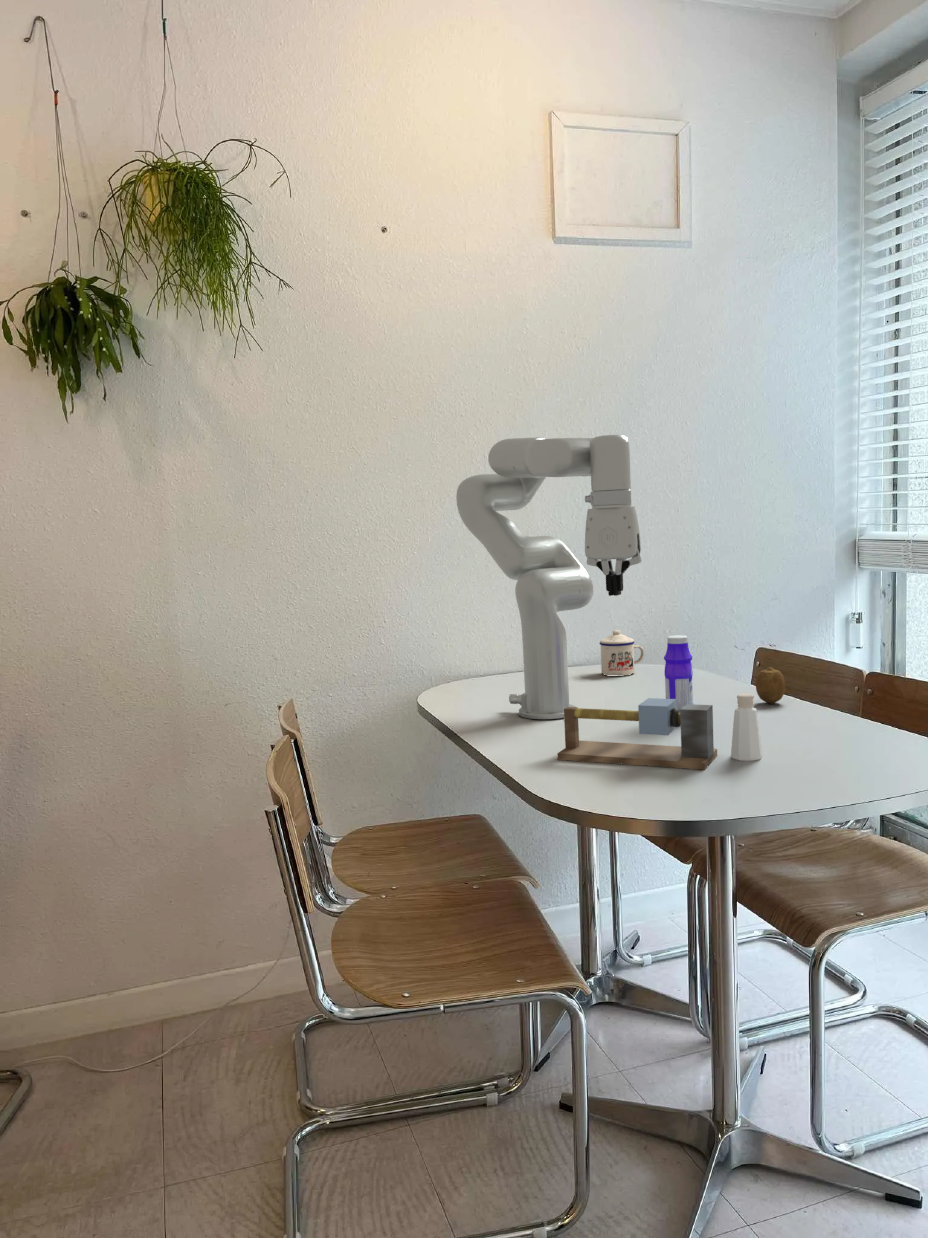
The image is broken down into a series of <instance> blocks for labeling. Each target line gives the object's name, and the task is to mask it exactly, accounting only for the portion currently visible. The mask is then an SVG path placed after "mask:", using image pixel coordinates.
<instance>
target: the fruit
mask: <svg viewBox="0 0 928 1238" xmlns="http://www.w3.org/2000/svg"><path fill="white" fill-rule="evenodd" d="M782 673H783V672H781V671H780V670H778V669H774V668H773V667H772V666H769V667H767V668H766V669H762V670H761V671H759V673H758V674H757V677H756V680H755V690H756V693H757V696H758V697H759V699H760V700H761V701H763V702H764V703H767V704H769V705H773V704H775V703H777V702H779V701H780V700H782V698H783V697H784V694H785V691H786V681H785V678H784V677H785V676H784V675H783V674H782Z"/></svg>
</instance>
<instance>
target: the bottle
mask: <svg viewBox="0 0 928 1238" xmlns="http://www.w3.org/2000/svg"><path fill="white" fill-rule="evenodd" d="M666 638H667V641H666V642H667V643H666V644H667V645H666V646H667V648H666V652H665V655H664V657H663V660H664V661H665V665H664V677H665V678H664V679H665V680H664V682H665V683H664V685H665V688H664V689H665V691H664V692H665V699H676V700H677V709H681V708H682V707H683V706H685V705H686V704H694V693H693V675H694V674H693V673H694V671H693V665H692V662H691V661H692V660H693V656H692V654H691V652H690V650H689V641H688V640H689V639H688V636H687V635H683V634H678V635H677V634H675V635H669V636H667V637H666Z"/></svg>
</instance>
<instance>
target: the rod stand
mask: <svg viewBox="0 0 928 1238" xmlns="http://www.w3.org/2000/svg"><path fill="white" fill-rule="evenodd" d="M713 709H714V708H713V705H712V704H694V703H693V704H686V705H685V706H683V707H682V708H681V709H677V708H673V709H672V712H670V723H671V725H672V727H677V728H680V745H665V744H664V745H662V744H661V745H660V744H646V743H645V744H643V743H629V742H627V743H625V742H612V741H594V740H593V741H592V740H580V733H579V719H583V720H584V719H585V720H604V721H605V720H608V721H626V722H627V721H628V722H629V721H630V722H639V711H638V710H628V709H627V710H626V709H623V710H622V709H604V708H603V709H602V708H584V707H583V708H581V707H580V708H579V707H578V706H575V707H566V708H564V718H563V723H564V742H565V743H564V745H565V747H564V748H563V749H562V750H560V751H558V752H557V754H556V755H557V761H566V760H571V761H570V762H581V761H582V762H581V763H583V761H584V763H595V762H602V763H601V764H610V763H620V764H619V765H624V764H629V765H628V766H639V765H649V766H648V767H653V766H664V767H663V768H668V767H674V768H673V769H682V768H689V769H688V770H697V769H701V770H700V771H705V770H706V769H707V768H708V767H709V766H710V764H711V763H712V762H713V761H714V760H715V758H716V757H717V756H718V748H716V747H715V746H714V718H713V717H714V713H713ZM714 747H715V748H714ZM572 760H573V761H572ZM603 762H604V763H603ZM621 763H622V764H621ZM707 766H708V767H707Z"/></svg>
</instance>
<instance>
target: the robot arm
mask: <svg viewBox="0 0 928 1238" xmlns="http://www.w3.org/2000/svg"><path fill="white" fill-rule="evenodd" d="M630 453H631V452H630V442H629V438H628V437H627V436H626V435H623V434H606V435H605V434H604V435H599V436H595V437H562V438H561V437H558V438H557V437H556V438H546V437H544V436H543V437H542V436H541V437H540V436H538V437H537V436H535V437H519V438H517V437H516V438H515V437H513V438H505V439H502V440H499V441H498V442H496V443H494V444H493V446H492V447H491V448H490V449H489V453H488V455H487V456H488V457H487V458H488V459H487V461H488V465H489V467H490V468H491V470H492V471H493V472H494V473H486V474H477V475H476V474H475V475H472V476H469V477H467V478H465V479H464V480H462V481H461V482H460V483H459V485H458V486H457V489H456V494H455V495H456V496H455V497H456V499H455V500H456V501H455V502H456V507H457V511H458V514H459V516H460V517H459V518H460V519H461V521H462V523H463V524H464V526H465V527H466V528H467V529H468V531H469V532H470V534H472V535H473V536H474V537H475V538H476V539H477V540H478V541H479V542H480V543H481V544H482V545H483V546H484V548H485V550H486V551H487V552H488V553H489V555H490V556H491V558H492V559H493V560H494V562H495V563H496V564H497V566H498V567H499V568H500V570H501V571H502V573H504V575H505V576H506V577H507V578H509V579H511V580H512V581H513V580H514V581H516V583H515V588H514V589H515V590H514V591H515V600H516V603H517V608H518V611H519V617H520V623H521V624H520V625H521V638H522V641H521V642H522V656H523V657H522V658H523V679H524V680H523V681H524V693H521V694H517V693H514V694H513V693H512V694H509V697H508V702H509V704H512V705H520V706H521V707H520V708H519V709H518V715H519V716H520V717H521V718H526V719H530V720H531V719H532V720H556V719H564V708H566V707H576V706H575V705H573V704H570V692H569V691H570V688H569V669H568V663H569V662H568V645H567V644H568V643H567V641H568V640H567V632H566V628H565V625H564V624H563V622H562V621H561V619H560V617H559V615H558V612H564V611H573V610H579V609H582V608H584V607H586V606H587V605H589V603H590V602H591V601H592V599H593V597H594V596H593V595H594V584H593V581H592V579H591V576H590V574H589V572H588V571H587V569H585V567H584V566H583V565H582V563H581V562H580V561H579V559H577V558H576V556H575V555H574V553H573V552H572V551H571V550H570V549H569V547H568V546H567V545H566V543H564V541H561V540H560V539H559V538H557V537H555V536H552V535H551V536H550V535H541V536H539V535H537V536H529V535H525V534H524V533H523V532H522V531H520V530H519V528H518V527H517V525H516V524H515V523H514V522H513V521H512V520H510V519H509V518H508V517H507V516H505V515H503V514H501V513H499V512H502V511H505V512H506V511H518V510H520V509H523V508H525V507H526V506H527V505H529V503H530V502H532V501H531V500H532V499H534V498H533V497H534V496H535V495H536V493H537V492H538V490H539V489H540V487H541V486H542V484H543V483H544V481H545V480H546V478H570V477H571V478H573V477H590V481H591V482H590V486H591V491H590V494H588V495H585V496H584V502H585V503H589V504H590V506H591V508H588V509H587V512H586V513H587V514H586V519H585V520H586V521H585V533H584V554H585V557H586V564H587V565H588V566H593V567H597V568H598V569H599V570H600V571H601V572H602V573H603V575H604V576H605V589H606V590H605V591H606V592H608V593H607V594H608V596H609V597H610V596H616V597H618V596H620V595H622V592H623V591H624V573H626V571H627V570H628V569H629V568H630V567H631V566H635V565H639V564H641V563H642V557H641V549H642V548H641V547H642V546H641V536H640V525H639V521H638V515H637V511H636V510H637V509H636V507H635V506H632V487H631V484H632V482H631V481H632V480H631V457H630ZM613 560H615V565H614V567H615V568H614V567H613V562H612V561H613Z"/></svg>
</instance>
